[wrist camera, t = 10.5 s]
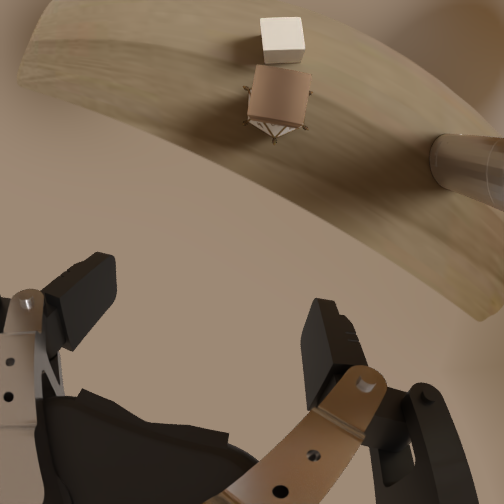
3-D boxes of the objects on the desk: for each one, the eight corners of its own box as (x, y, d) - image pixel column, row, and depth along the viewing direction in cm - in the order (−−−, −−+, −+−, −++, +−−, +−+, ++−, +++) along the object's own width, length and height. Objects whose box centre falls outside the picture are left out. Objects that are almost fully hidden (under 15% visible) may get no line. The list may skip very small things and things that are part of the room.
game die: (267, 124, 38) (222, 140, 32) (270, 70, 33) (221, 75, 27) (321, 139, 35) (284, 158, 29) (329, 80, 29) (291, 83, 23)
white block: (296, 33, 29) (300, 17, 24) (300, 62, 31) (305, 49, 26) (261, 35, 30) (259, 18, 24) (264, 63, 32) (263, 50, 26)
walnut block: (304, 87, 26) (312, 74, 20) (296, 128, 28) (303, 124, 22) (259, 79, 26) (256, 64, 20) (251, 120, 28) (247, 114, 22)
